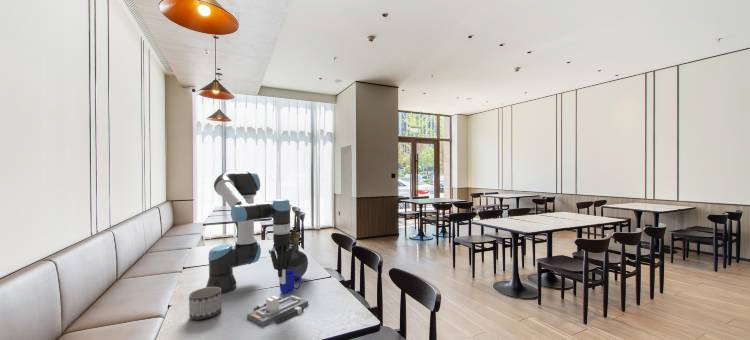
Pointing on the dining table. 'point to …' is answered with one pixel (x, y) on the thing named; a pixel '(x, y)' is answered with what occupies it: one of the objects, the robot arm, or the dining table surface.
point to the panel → (285, 307)
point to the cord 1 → (261, 306)
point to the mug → (289, 283)
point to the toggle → (272, 303)
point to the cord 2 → (290, 314)
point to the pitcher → (297, 257)
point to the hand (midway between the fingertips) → (282, 283)
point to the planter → (205, 303)
